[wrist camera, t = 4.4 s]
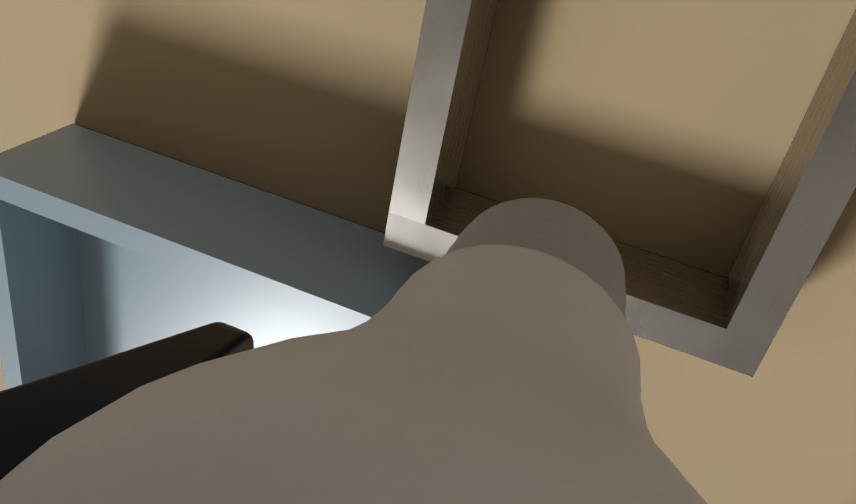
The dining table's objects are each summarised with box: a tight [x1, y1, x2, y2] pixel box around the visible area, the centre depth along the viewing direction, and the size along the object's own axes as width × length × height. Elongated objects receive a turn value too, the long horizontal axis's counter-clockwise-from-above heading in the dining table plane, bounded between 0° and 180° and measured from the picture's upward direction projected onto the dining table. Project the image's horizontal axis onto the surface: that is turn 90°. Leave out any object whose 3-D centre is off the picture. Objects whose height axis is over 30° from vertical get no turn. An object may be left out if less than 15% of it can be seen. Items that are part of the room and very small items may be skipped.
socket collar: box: [383, 0, 856, 377], centre depth 17 cm, size 10×10×2 cm
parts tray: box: [0, 124, 430, 390], centre depth 25 cm, size 14×14×4 cm
